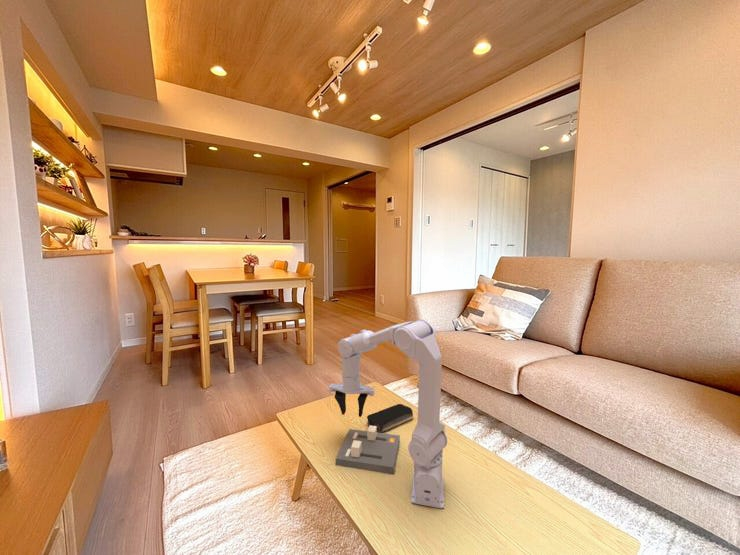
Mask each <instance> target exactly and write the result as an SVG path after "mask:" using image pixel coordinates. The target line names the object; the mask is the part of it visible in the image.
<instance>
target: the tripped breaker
mask: <svg viewBox="0 0 740 555" xmlns="http://www.w3.org/2000/svg"><path fill="white" fill-rule="evenodd" d="M366 431H367V440H371V441H375V439H376V436H377V433H378V431H377V426H371V425H370V424H369V426H368V429H367V430H366Z"/></svg>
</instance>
